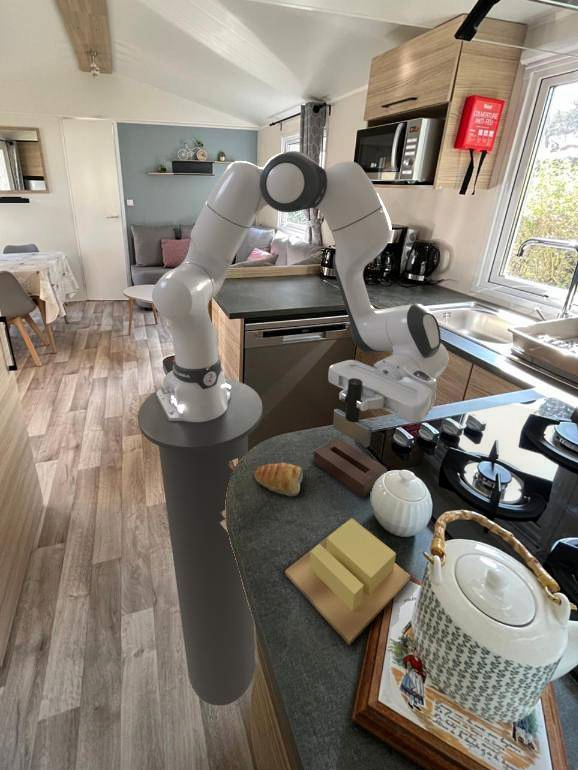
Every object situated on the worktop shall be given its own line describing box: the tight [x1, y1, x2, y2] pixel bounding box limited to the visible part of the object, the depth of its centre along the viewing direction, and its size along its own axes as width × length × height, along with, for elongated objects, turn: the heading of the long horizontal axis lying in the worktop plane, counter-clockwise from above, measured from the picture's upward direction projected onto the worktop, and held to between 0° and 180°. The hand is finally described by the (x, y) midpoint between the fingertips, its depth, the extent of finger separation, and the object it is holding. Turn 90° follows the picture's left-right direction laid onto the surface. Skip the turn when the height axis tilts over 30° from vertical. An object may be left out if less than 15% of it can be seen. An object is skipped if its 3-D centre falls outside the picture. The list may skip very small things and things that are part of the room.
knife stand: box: [313, 436, 388, 499], centre depth 77 cm, size 12×7×3 cm, turn 37°
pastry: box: [253, 461, 304, 497], centre depth 75 cm, size 9×7×4 cm
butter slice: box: [309, 543, 364, 612], centre depth 55 cm, size 8×2×4 cm, turn 37°
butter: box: [326, 517, 397, 595], centre depth 58 cm, size 8×6×4 cm
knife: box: [332, 378, 372, 448], centre depth 71 cm, size 8×2×12 cm, turn 37°
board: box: [284, 522, 411, 646], centre depth 57 cm, size 12×14×1 cm
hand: (350, 401), depth 70 cm, fingers closed on knife, 2 cm apart
